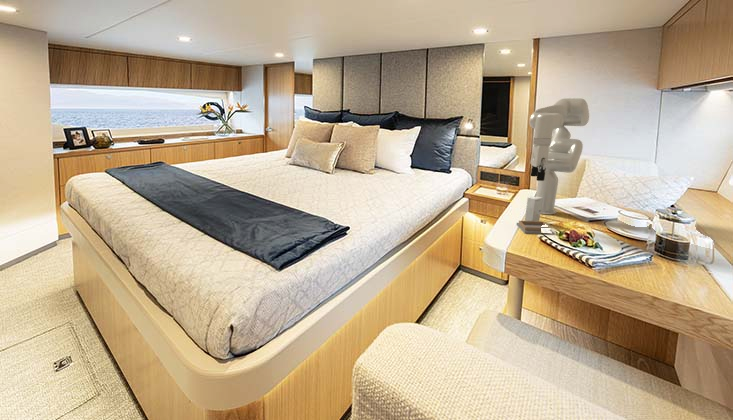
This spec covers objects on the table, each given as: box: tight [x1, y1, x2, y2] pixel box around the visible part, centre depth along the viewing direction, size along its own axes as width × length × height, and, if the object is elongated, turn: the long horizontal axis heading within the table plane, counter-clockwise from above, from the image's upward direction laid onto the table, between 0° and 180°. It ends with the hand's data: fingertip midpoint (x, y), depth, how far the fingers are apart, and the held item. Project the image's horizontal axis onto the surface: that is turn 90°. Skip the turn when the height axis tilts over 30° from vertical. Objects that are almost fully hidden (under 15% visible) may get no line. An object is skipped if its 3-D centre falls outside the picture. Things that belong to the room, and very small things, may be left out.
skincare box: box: [524, 195, 542, 221], centre depth 177 cm, size 6×4×12 cm
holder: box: [516, 220, 551, 235], centre depth 167 cm, size 12×12×2 cm
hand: (537, 178), depth 171 cm, fingers open, 9 cm apart
